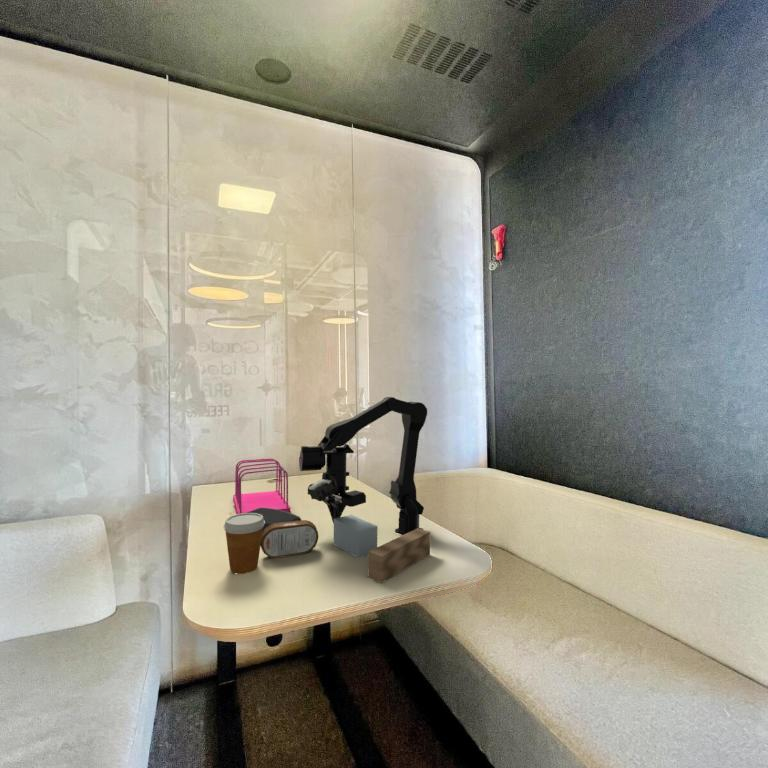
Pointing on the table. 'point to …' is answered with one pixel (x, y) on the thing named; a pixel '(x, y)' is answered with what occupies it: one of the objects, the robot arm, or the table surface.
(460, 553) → the table surface
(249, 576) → the table surface
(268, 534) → the tin
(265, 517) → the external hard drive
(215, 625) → the table surface
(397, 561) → the batten
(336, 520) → the block
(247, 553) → the disposable coffee cup
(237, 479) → the file sorter
